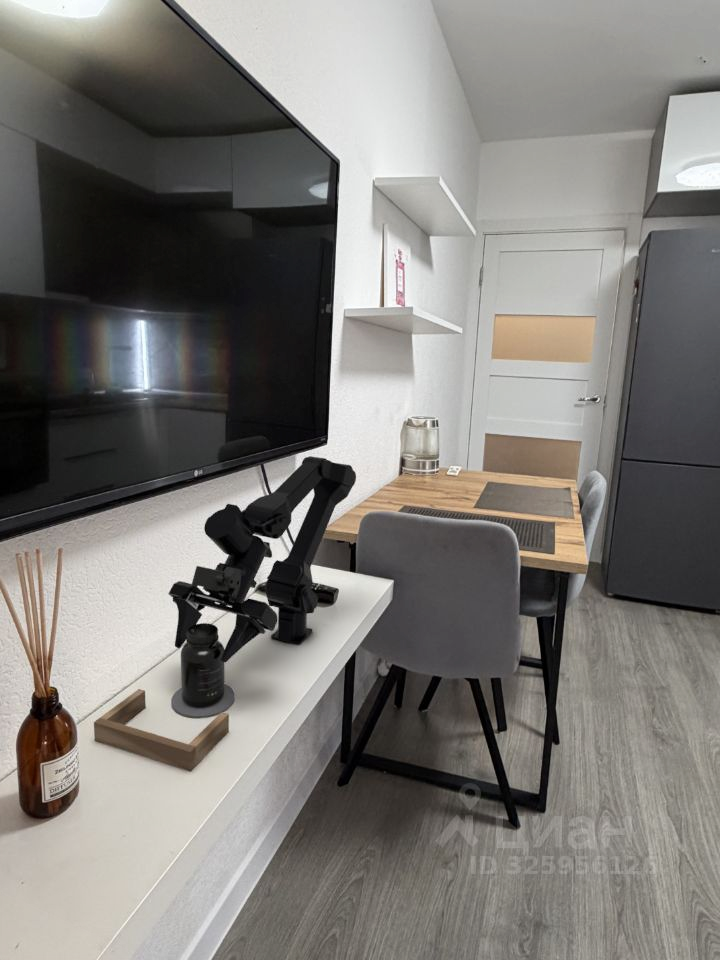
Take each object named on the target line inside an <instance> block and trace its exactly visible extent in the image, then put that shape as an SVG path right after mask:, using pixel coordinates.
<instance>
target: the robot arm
mask: <svg viewBox="0 0 720 960" xmlns="http://www.w3.org/2000/svg"><path fill="white" fill-rule="evenodd" d="M356 479H357V474H356V471H354V469H353V466H352V465H350V464H345V463H337V462H333V461H331V460H329V459H327V458H324V457H318V456H307V457H306V456H305V457H304V458H303V460H302V462H301V465H299V466H298V467H297V468H296V470H295V471H294V472H293V473H291V474H290V475H289V476H288V477H287V478H286V480H285V481H283V482H282V484H280V485H279V486H278V487H277V488H276V490H274V491H273V492H272V493H269V494H266V495H263V496H260V497H258V498H257V499H255V500H253V501H252V502H250V503H249V504H248V505H247V506H246V508H244V509H243V510H242V509H240V507H239V506H238V505H237V504H232V503H226V504H225V507H224V508H223V509H219V510H217V511H215V512H214V513H213V514H211V515H210V516H209V517H208V518H207V519H206V521H205V524H204V527H203V528H204V529H203V530H204V533H205V535H206V536H207V537H208V538H209V539H210V540H211V542H213V543H214V544H215V545H216V546H217V547H218V548H219V549H220V550H221V551H222V552H223V554H225V555H228V556H227V558H226V560H225V562H224V563H223V562H219V563H217V565H216V566H215V568H214V569H213V568H210V567H204V566H200V565H196V567H195V571H194V574H193V577H192V582H191V583H188V582H186V581H181V580H179V581H177V582H174V583H173V584H172V586H171V587H170V590H169V592H168V593H167V595H168V596H170V597H171V598H172V602H173V603H174V604H176V607H177V611H178V612H177V613H178V614H177V615H178V617H177V626H176V632H175V634H176V635H175V639H174V640H175V641H174V647H175V648H177V649H180V648H181V647H183V646H184V644H185V642H187V641H186V639H187V630H188V629H189V628H190V627H191V626H193V625H196V624H198V621H200V619H201V617H202V616H203V614H202V613H201V612H200V611H201V610H203V609H205V608H206V607H208V608H212V609H215V610H219V611H223V612H226V613H230V614H234V615H236V616H235V626H234V628H233V631H232V633H231V635H230V637H229V639H228V642H227V644H226V645H225V647H224V652H223V655H222V658H221V661H222V662H224V663H227V662H228V661H229V660H230V659H232V658H233V656H235V655H236V653H238V652H239V651H241V649H242V648H243V647H244V646H245V645H246V644H248V643H249V642H250V641H252V640H253V639H255V638H256V637H257V636H258V635H265V634H266V630H267V631H270V632H273V631H274V632H273V633H272V634H271V635H270V639H272V640H276V641H280V642H281V641H282V642H287V643H289V644H294V645H301V644H302V643H303V642H304V641H305V640H306V639H308V637H309V636H310V635H311V634H312V633H313V632H312V631H314V630H313V629H312V628H309V627H307V619H308V614H313V613H314V612H315V609H316V608H317V605H318V602H319V597H318V596H317V594H316V593H315V592H314V591H313V590H312V586H313V582H314V581H313V576H312V575H313V574H312V568H311V567H312V564H313V562H314V559H315V558H316V557H315V556H316V555H317V552H318V549H319V547H320V544H321V542H322V540H323V537H324V534H325V532H326V531H327V528H328V525H329V522H330V519H331V518H332V515H333V513H334V510H335V507H336V506H337V505H339V504H340V503H341V502H342V501H343V500H345V499H346V498H347V497H348V496H349V494H350V492H351V490H352V488H353V487H354V486H355V483H356V481H357V480H356ZM311 491H313V494H314V495H313V498H312V500H311V503H310V504H309V508H308V510H307V512H306V515H305V517H304V519H303V521H302V524H301V526H300V529H299V530H298V532H297V536H296V538H295V540H294V542H293V544H292V547H291V549H290V551H289V553H288V556H287V557H286V558H285V559H284V560H278V559H277V560H276V561H274V563H273V564H272V567H271V570H270V573H269V574H268V575H267V578H266V582H265V585H264V591H265V594H266V598H267V602H265V601H260V600H257V599H252V598H247V599H246V597H247V595H248V593H249V591H250V589H251V588H253V589H255V588H256V586H257V584H258V583H257V581H256V580H255V578H256V576H257V574H258V571H259V569H260V567H261V565H262V563H263V561H264V558H269V559H271V558H272V557H273V551H272V549H271V546H270V545H271V543H270V542H269V541H263V539H262V538H261V537H265V538H270V539H274V540H278V539H279V538H281V537H282V536H283V535H284V533H285V532H286V530H288V527H289V526H290V524H291V523H292V513H293V512H294V510H295V509H296V508H297V507H298V506H299V505H300V504H301V502H302V501H303V500H305V498H306V497H307V496H308V495H309V493H310V492H311ZM198 586H199V587H202V589H203V590H204V591H205V592H207V593H208V594H207V593H205V592H204V591H203V590H201V589H200V588H199V587H198ZM272 607H274V608H277V609H278V614H277V613H276V611H275V610H274V609H273V608H272ZM276 626H277V630H276V631H275V628H276Z"/></svg>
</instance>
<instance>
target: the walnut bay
mask: <svg viewBox="0 0 720 960" xmlns="http://www.w3.org/2000/svg"><path fill="white" fill-rule="evenodd" d="M146 704H147V703H146V690H145V689H141V688H138V689H137V690H136V691H134V692H132V693H131V694H130V695H128V696H127V697H126V698H124V699H123V700H122V701H120V702H119V703H118V704H116V705H115V706H114V707H113V708H111V709H110V710H108V711H107V712H105V713H104V714H103V715H101V716H100V717H98V718H97V719H96V720H95V721H93V731H94V732H93V733H94V741H95V742H98V743H101V744H104V745H107V746H109V747H110V746H111V747H113V748H117V749H120V750H122V751H126V752H129V753H132V754H135V755H138V756H140V757H145V758H148V759H151V760H154V761H157V762H160V763H163V764H167V765H169V766H173V767H176V768H179V769H182V770H184V771H188V772H192V770H193V769H195V768H196V767H197V765H198V764H199V763H201V761H202V760H203V759H204V758H205V757H206V756H207V755H208V754H209V753H210V752H212V750H213V749H214V748H215V746H217V744H218V743H220V742H221V741H222V739H224V737H225V736H226V735H227V734H228V733H229V728H230V726H229V725H230V724H229V722H230V720H229V718H230V716H229V713H227V712H225V711H224V712H221V713H220V714H218V715H216V717H214V719H213V720H212V721H211V722H210V723H208V725H207V726H206V727H205V728H203V730H202V731H200V732H199V733H198V734H197V735H196V736H195V737H194V738H193V739H192V740H191V741H190V742H189V743H185V742H183V741H179V740H174V739H171V738H168V737H165V736H162V735H158V734H155V733H152V732H149V731H145V730H142V729H139V728H136V727H132V726H130V725H126V724H127V723H129V721H132V719H134V718H135V717H136V716H137V715H138V714H139V713H141V712H142V711H143V710H145V709H146V708H147V707H146V706H147V705H146Z"/></svg>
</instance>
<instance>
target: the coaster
mask: <svg viewBox="0 0 720 960" xmlns="http://www.w3.org/2000/svg"><path fill="white" fill-rule="evenodd" d="M224 686H225V689H224V696H223V698H222V699H221V700H220V701H219V702H218V703H216V704H214V705H212V706H209V707H204V708H196V707H191V706H189V705H187V704H186V703H185V702H184V701H183V699H182V691H181V687H180V688H179V689H177V690H176V691H175V692H174V694H172V696H171V699H170V700H171V708H172V710H173V711H174V712H175V713H176V714H178V715H179V716H182V717H185V718H191V719H206V718H210V717H215V716H218V715H219V714H220V713H221V712H224V713H225V712H226V711H228V710H229V709H231V707H232V705H233V704H234V702H235V698H236V697H235V696H236V695H235V691H234V689H233V688H232V687H231V686H230V685H228V684H226V683H225V685H224Z"/></svg>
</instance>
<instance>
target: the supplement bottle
mask: <svg viewBox="0 0 720 960" xmlns="http://www.w3.org/2000/svg"><path fill="white" fill-rule="evenodd" d="M219 637H220V636H219V629H218V626H217V625H215V624H212V623H205V622H202V623H197V624H196V625H193V626H191V627H190V628H189V629H188V630H187V639H186V641H185V642H186V643H184V644H183V645H182V649H181V650H180V676H181V677H180V680H181V681H180V683H181V685H180V686H181V687H180V688H181V691H182V699H183V701H184V702H185V703H186V704H187V705H189V706H191V707H196V708H204V707H209V706H212V705H214V704H216V703H218V702H219V701H220V700H221V699H222V698H223V696H224V689H225V686H224V685H225V684H226V682H225V678H226V677H225V662H222V661H221V658H222V655H223V652H224V649H225V647H224V644H223V643H222V642H221V641H219Z"/></svg>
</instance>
